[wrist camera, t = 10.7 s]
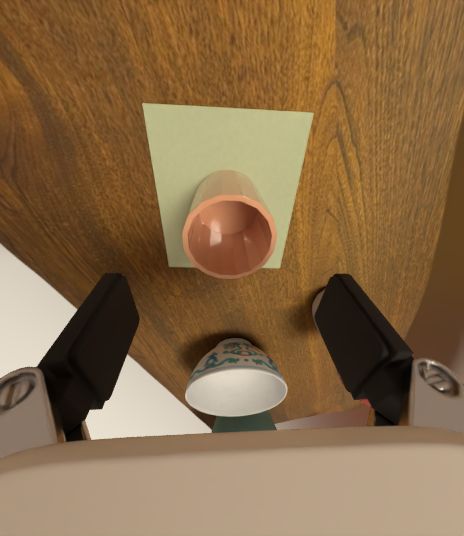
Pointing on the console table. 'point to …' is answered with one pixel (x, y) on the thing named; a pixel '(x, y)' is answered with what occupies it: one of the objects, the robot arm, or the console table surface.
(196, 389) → the chinaware
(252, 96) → the console table surface
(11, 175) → the console table surface
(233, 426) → the flower pot
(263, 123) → the mat
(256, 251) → the cup
